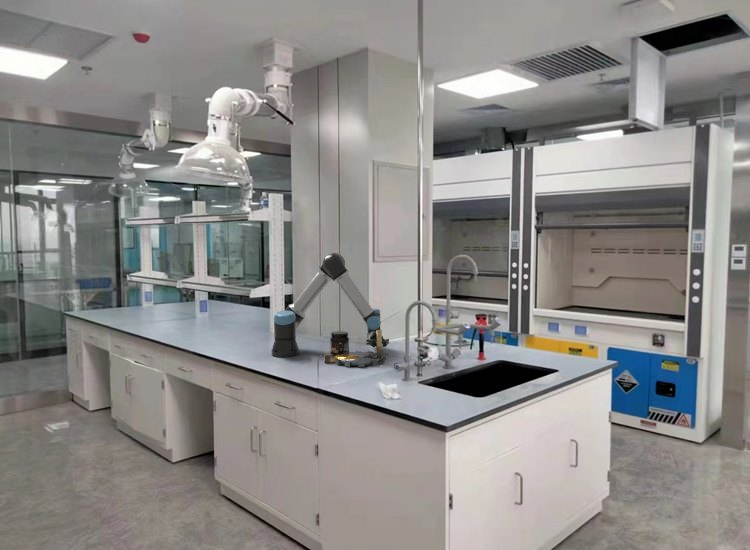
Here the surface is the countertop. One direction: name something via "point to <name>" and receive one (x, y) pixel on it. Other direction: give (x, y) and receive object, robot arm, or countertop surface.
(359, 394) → the countertop surface
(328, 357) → the index mark
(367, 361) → the turntable
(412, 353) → the countertop surface
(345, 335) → the supplement container
